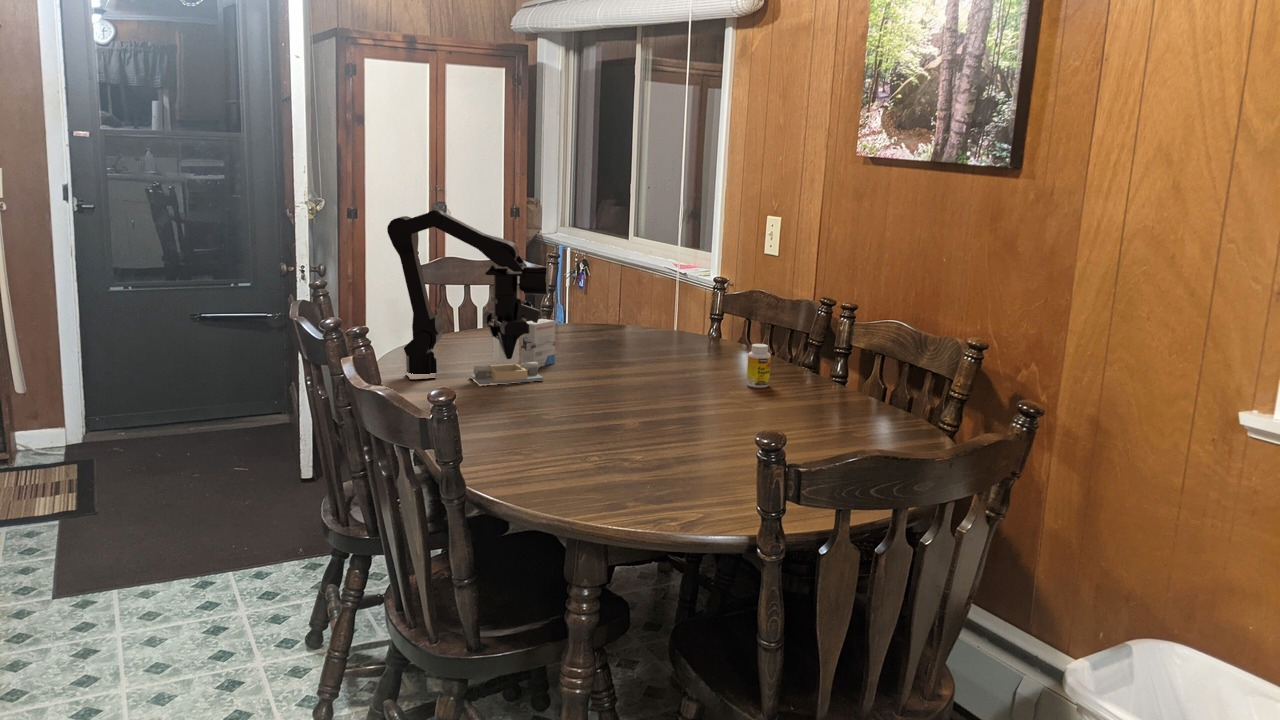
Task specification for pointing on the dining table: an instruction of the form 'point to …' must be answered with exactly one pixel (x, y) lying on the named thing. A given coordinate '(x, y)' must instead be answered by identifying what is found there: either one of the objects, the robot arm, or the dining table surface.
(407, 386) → the dining table surface
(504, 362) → the block
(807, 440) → the dining table surface
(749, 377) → the supplement bottle
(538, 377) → the shaft bench
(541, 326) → the ink box
